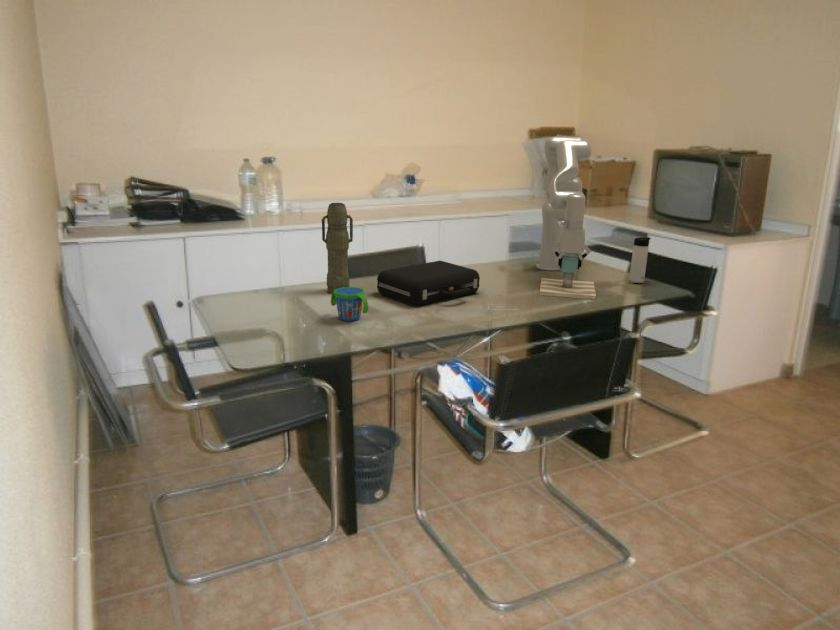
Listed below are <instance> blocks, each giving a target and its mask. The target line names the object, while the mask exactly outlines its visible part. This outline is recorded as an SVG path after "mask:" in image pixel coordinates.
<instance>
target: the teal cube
mask: <svg viewBox="0 0 840 630" xmlns="http://www.w3.org/2000/svg"><path fill="white" fill-rule="evenodd" d="M578 259H579V256H577V255H576V254H563V255H562V267H561V270H560V271H561V272H562V273H564V272H567V273H574V274H575V273H578V271H579V270H578Z"/></svg>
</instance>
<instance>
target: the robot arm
mask: <svg viewBox="0 0 840 630" xmlns="http://www.w3.org/2000/svg"><path fill="white" fill-rule="evenodd" d="M543 150H544V155H545V159H546V164H547V173H546V175H547V176H546V194H547V196H548V197H549V200H547V201H545V202H544V203H543V204H542V207H541V216H542V230H541V243H540V254H539V255H540V256H539V262H538V263H536V264H535V267H536V268H537V269H539V270H543V271H551V272H552V271H553V272H554V271H555V272H556V271H561V267H562V256H563V255H565V254H569V255H578V257H579V258H578V270H577V271H579V270H580V268H582V262H583V260H584V259H585V258H586V257H587V256H588V255H590V253H591V252H592V250H591V249H590V248H589V247H588V246H587V244H586V242H585V241H586V231H585V228H584V221H585V220H584V218H585V209H586V200H587V199H586V195H585V194H584V193H583V181H582V179H581V178H580V177H577V176H578V174H579V173H580V167H579V161H588V160H589V159H590V157H591V155H592V146H591V143H590V141H588V140H587V139H586V138H585V137H581V136H580V137H579V136H551V137H548V138H546V140H545V142H544V149H543ZM559 223H560V224H559ZM561 225H562V226H563V227H562V226H561ZM585 251H586V252H585Z"/></svg>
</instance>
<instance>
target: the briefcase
mask: <svg viewBox="0 0 840 630" xmlns="http://www.w3.org/2000/svg"><path fill="white" fill-rule="evenodd" d="M480 279H481V277H480V274H479V272H478V271H477V270H476V269H474V268H470V267H465V266H462V265H459V264H456V263H455V264H454V263H451V262H447V261H443V260H437V261H430V262H424V263H418V264H412V265H408V266H402V267H397V268H391V269H387V270H382V271H380V272H379V273H378V275H377V278H376V280H377V281H376V282H377V286H376V288H377V292H378V293H379V294H380V295H382V296H384V297H387V298H390V299H393V300H396V301H399V302H400V303H403V304H406V305H409V306H413V307H420V306H421V307H422V306H425V305H429V304H434V303H438V302H442V301H447V300H450V299H455V298H459V297H464V296H467V295H472V294H475V293H477V291H478V290H479V287H480Z"/></svg>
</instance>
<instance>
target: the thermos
mask: <svg viewBox="0 0 840 630" xmlns="http://www.w3.org/2000/svg"><path fill="white" fill-rule="evenodd" d="M347 210H348V209H347V207H346V204H344V203H343V202H332V203H329V204H328V207H327V212H326V215H324V216H323V217H322V218H321V238H322V239H321V240H322V241H323V242H324V243H325V245H326V246H325V247H326V251H327V274H326V286H327V290H326V291H327V293H328V294H331V295H332V293H333V291H334V290H336V289H338V288H342V287H350V275H349V255H348V254H349V251H348V250H349V248H350V243H352V242H353V240H354V239H353V238H354V233H353V232H354V231H353V230H354V228H353V227H354V224H353V223H354V221H353V217H352V216H351V215H349V214H348V211H347ZM348 219H349V231H348V227H347V225H348ZM326 220H327V221H326ZM325 221H326V222H325ZM326 223H327V228H326V225H325V224H326ZM326 229H327V231H326Z"/></svg>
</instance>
